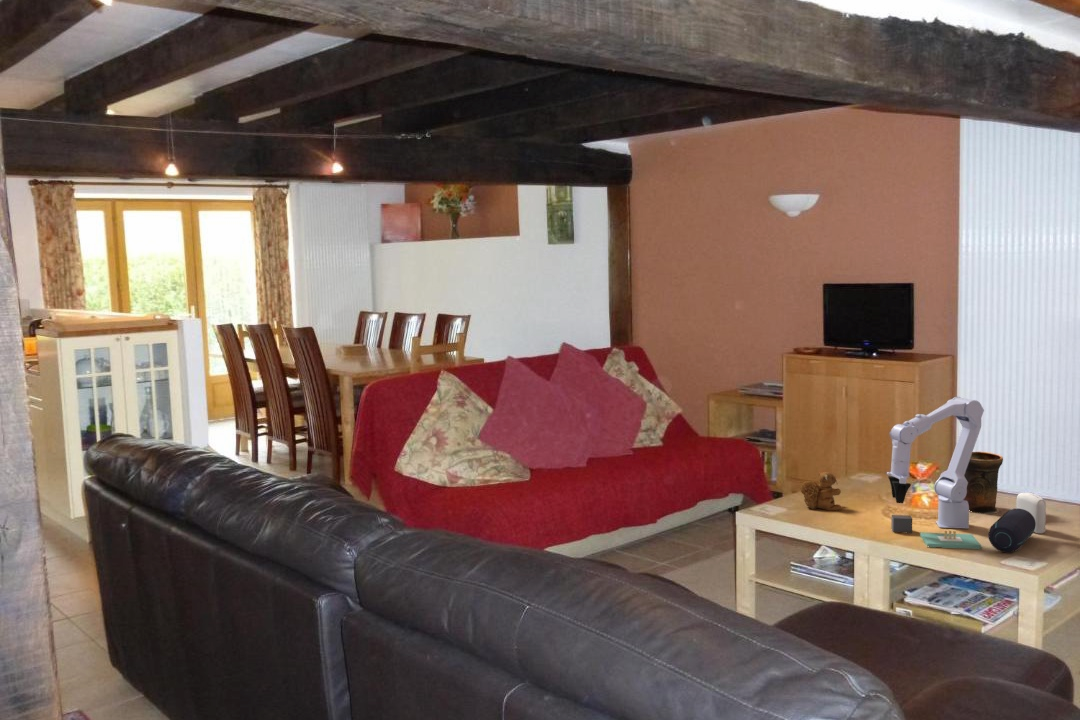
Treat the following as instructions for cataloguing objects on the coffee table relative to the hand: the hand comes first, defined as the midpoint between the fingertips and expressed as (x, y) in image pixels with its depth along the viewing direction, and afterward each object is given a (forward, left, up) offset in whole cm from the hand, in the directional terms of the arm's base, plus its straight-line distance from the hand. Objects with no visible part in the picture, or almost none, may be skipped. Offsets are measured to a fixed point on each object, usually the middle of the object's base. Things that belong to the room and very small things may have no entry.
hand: (897, 500), depth 317 cm
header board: (-14, +11, -11) cm, 21 cm away
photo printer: (-43, -7, -11) cm, 45 cm away
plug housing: (-1, 0, -11) cm, 11 cm away
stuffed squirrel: (+23, -28, -11) cm, 37 cm away
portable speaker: (-33, +11, -11) cm, 36 cm away
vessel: (-33, -32, -11) cm, 47 cm away
